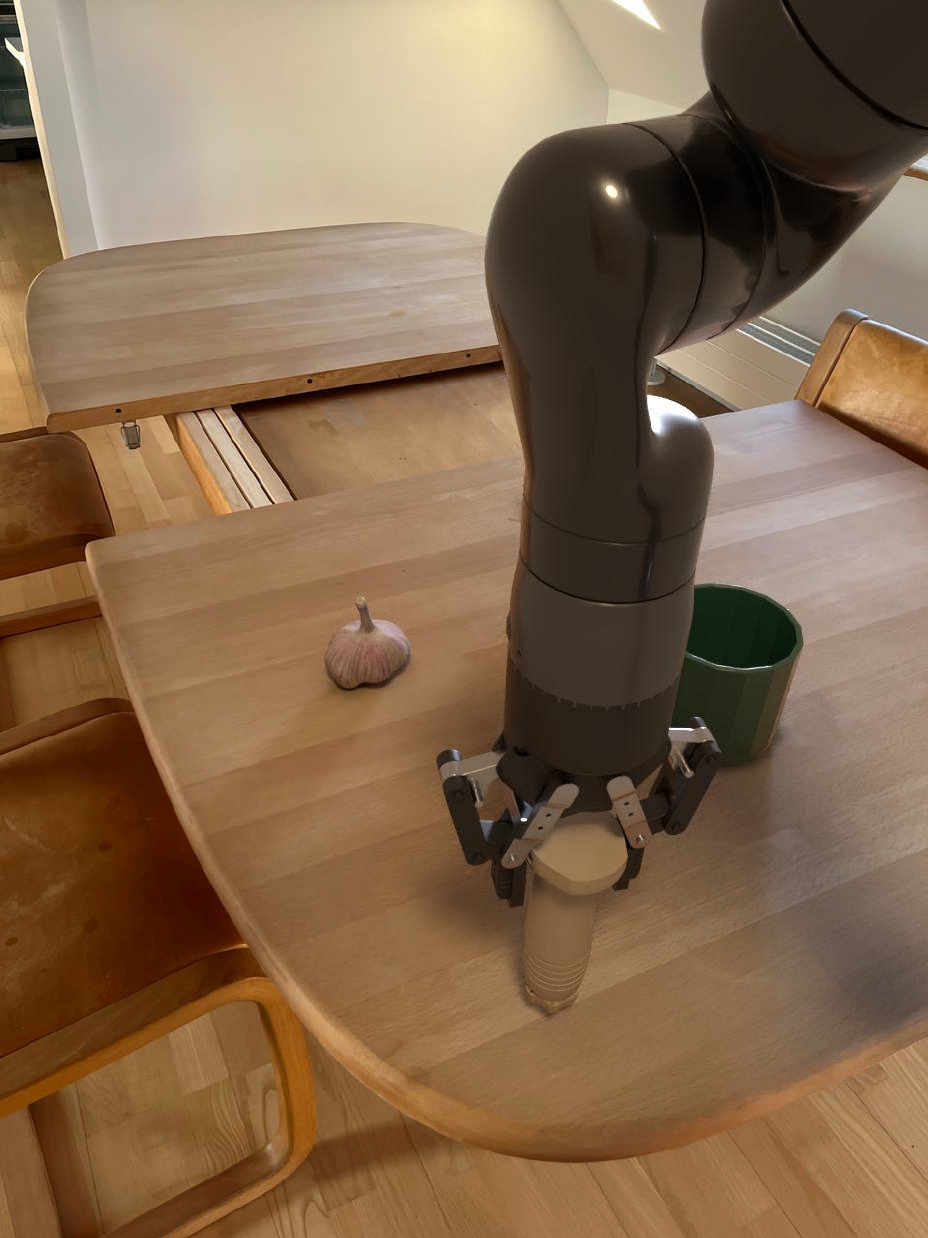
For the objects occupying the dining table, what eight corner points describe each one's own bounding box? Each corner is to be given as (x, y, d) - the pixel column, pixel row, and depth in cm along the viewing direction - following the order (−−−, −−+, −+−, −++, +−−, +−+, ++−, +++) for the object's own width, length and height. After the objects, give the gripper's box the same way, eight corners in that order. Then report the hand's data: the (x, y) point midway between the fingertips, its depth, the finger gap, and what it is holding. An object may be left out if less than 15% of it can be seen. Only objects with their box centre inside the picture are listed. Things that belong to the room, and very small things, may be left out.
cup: (797, 757, 75) (829, 663, 69) (667, 775, 73) (689, 680, 67) (739, 668, 83) (763, 577, 77) (621, 682, 82) (637, 590, 75)
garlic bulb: (330, 703, 79) (323, 629, 74) (321, 648, 84) (314, 576, 79) (418, 691, 80) (418, 618, 75) (403, 638, 86) (402, 566, 81)
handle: (557, 933, 60) (578, 772, 51) (613, 1019, 55) (647, 858, 46) (491, 963, 58) (499, 801, 49) (543, 1054, 54) (563, 895, 44)
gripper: (446, 722, 36) (445, 970, 46) (791, 677, 38) (717, 923, 49) (416, 606, 42) (421, 850, 52) (717, 574, 44) (664, 813, 54)
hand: (564, 884), depth 50 cm, fingers closed on handle, 5 cm apart
